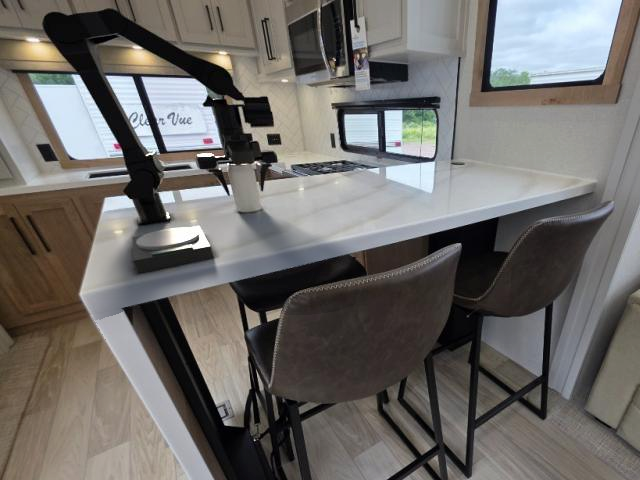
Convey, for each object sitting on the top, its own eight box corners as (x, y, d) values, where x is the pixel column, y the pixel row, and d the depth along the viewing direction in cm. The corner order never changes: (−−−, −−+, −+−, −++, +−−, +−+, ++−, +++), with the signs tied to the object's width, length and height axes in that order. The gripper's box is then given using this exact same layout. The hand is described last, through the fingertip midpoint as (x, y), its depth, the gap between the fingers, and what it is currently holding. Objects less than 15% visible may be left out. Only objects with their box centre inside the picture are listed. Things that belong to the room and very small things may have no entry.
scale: (136, 248, 67) (130, 233, 65) (202, 236, 73) (198, 222, 71) (138, 273, 57) (131, 256, 56) (214, 257, 63) (209, 242, 62)
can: (267, 208, 92) (258, 163, 86) (247, 214, 87) (236, 166, 81) (251, 205, 95) (242, 160, 89) (231, 210, 90) (220, 163, 84)
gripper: (192, 132, 70) (213, 205, 79) (278, 128, 80) (289, 194, 88) (185, 129, 78) (205, 195, 86) (265, 126, 87) (276, 186, 96)
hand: (245, 193), depth 89 cm, fingers closed on can, 8 cm apart
